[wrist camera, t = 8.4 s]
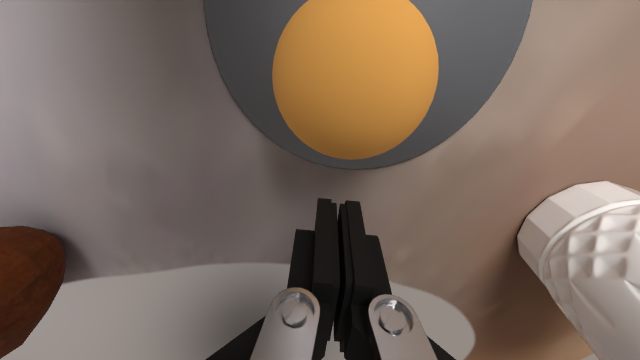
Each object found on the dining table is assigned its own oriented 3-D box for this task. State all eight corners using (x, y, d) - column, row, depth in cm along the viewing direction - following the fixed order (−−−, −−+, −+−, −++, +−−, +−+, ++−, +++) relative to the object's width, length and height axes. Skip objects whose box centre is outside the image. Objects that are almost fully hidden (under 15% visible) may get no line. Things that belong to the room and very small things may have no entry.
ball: (220, 130, 9) (267, 33, 12) (342, 201, 12) (355, 108, 15) (343, -7, 5) (367, -103, 8) (483, 153, 8) (462, 38, 11)
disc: (140, 2, 12) (137, 2, 12) (420, -391, 7) (422, -402, 7) (337, 209, 16) (337, 211, 16) (583, 45, 12) (586, 45, 12)
